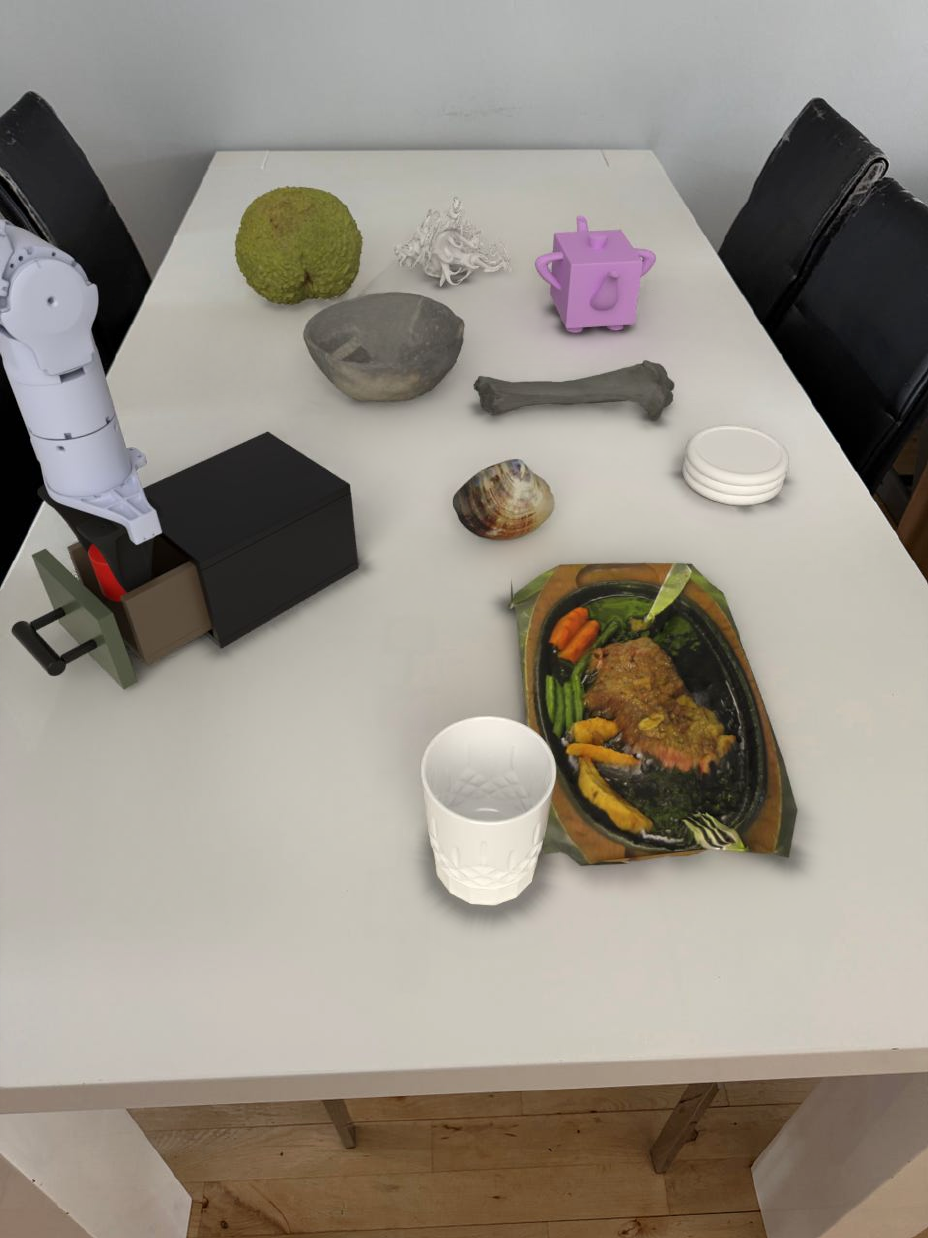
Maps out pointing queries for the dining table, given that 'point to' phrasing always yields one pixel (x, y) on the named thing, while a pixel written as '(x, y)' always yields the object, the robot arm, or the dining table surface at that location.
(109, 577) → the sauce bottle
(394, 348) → the bowl
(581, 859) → the prepared meal
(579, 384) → the bone
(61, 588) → the drawer
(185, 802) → the dining table surface
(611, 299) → the teapot
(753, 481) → the white round flat stack
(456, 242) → the figurine
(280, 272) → the fruit
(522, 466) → the seashell
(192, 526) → the cabinet
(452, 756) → the white cup
